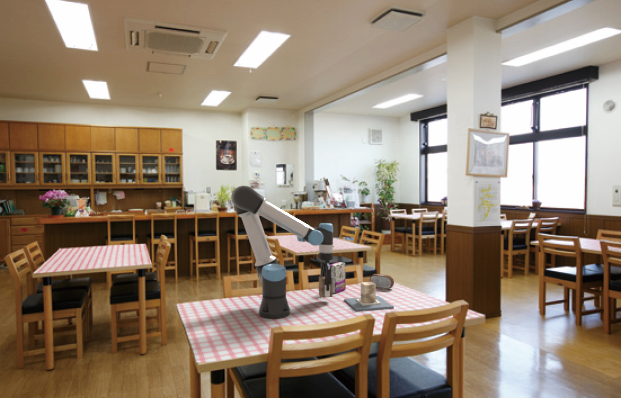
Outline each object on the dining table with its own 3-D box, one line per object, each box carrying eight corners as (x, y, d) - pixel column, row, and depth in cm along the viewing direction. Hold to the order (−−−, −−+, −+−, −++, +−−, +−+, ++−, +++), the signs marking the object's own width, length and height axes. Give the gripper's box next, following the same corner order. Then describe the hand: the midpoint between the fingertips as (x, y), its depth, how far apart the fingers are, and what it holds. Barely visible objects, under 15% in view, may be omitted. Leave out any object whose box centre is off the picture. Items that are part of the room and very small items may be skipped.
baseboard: (356, 311, 201) (356, 309, 201) (344, 300, 221) (344, 298, 221) (393, 308, 206) (393, 306, 206) (378, 297, 225) (378, 296, 225)
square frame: (362, 305, 207) (362, 304, 207) (355, 300, 217) (355, 298, 217) (380, 304, 210) (380, 302, 210) (373, 299, 219) (373, 297, 219)
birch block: (364, 304, 210) (364, 285, 209) (360, 301, 216) (360, 282, 215) (375, 303, 211) (375, 284, 211) (371, 300, 217) (371, 281, 217)
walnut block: (321, 297, 215) (321, 278, 215) (318, 294, 221) (318, 276, 221) (332, 296, 216) (332, 278, 216) (329, 294, 222) (329, 275, 222)
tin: (394, 289, 244) (394, 275, 244) (392, 290, 242) (392, 276, 242) (371, 286, 252) (371, 272, 252) (369, 287, 250) (368, 273, 250)
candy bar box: (338, 288, 247) (338, 261, 246) (345, 289, 244) (345, 262, 243) (328, 292, 238) (328, 264, 238) (335, 293, 235) (335, 265, 235)
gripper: (337, 254, 210) (337, 299, 210) (328, 249, 228) (327, 290, 229) (323, 255, 208) (323, 300, 208) (315, 249, 226) (314, 290, 227)
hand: (325, 294), depth 219 cm, fingers closed on walnut block, 6 cm apart
